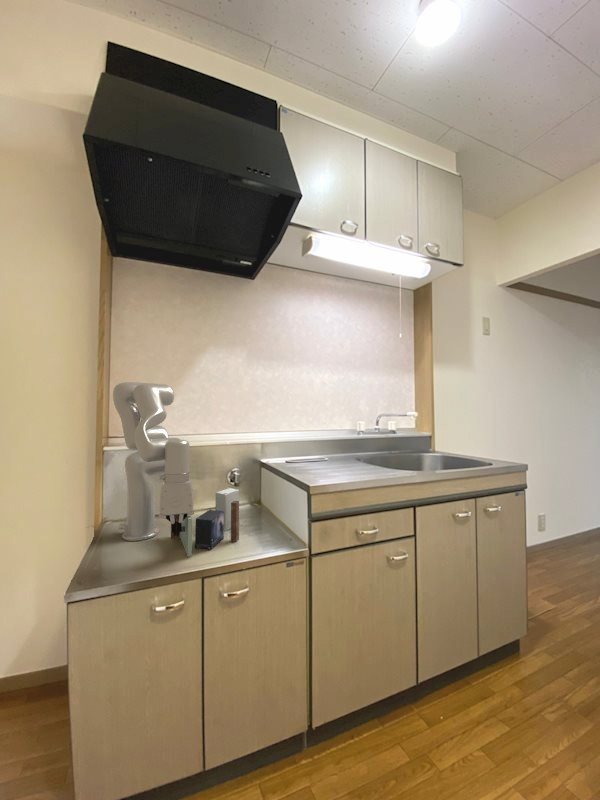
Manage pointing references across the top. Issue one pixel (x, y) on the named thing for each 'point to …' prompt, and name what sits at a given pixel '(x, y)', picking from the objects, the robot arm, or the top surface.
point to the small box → (209, 529)
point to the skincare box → (226, 504)
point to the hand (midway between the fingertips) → (176, 534)
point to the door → (187, 535)
